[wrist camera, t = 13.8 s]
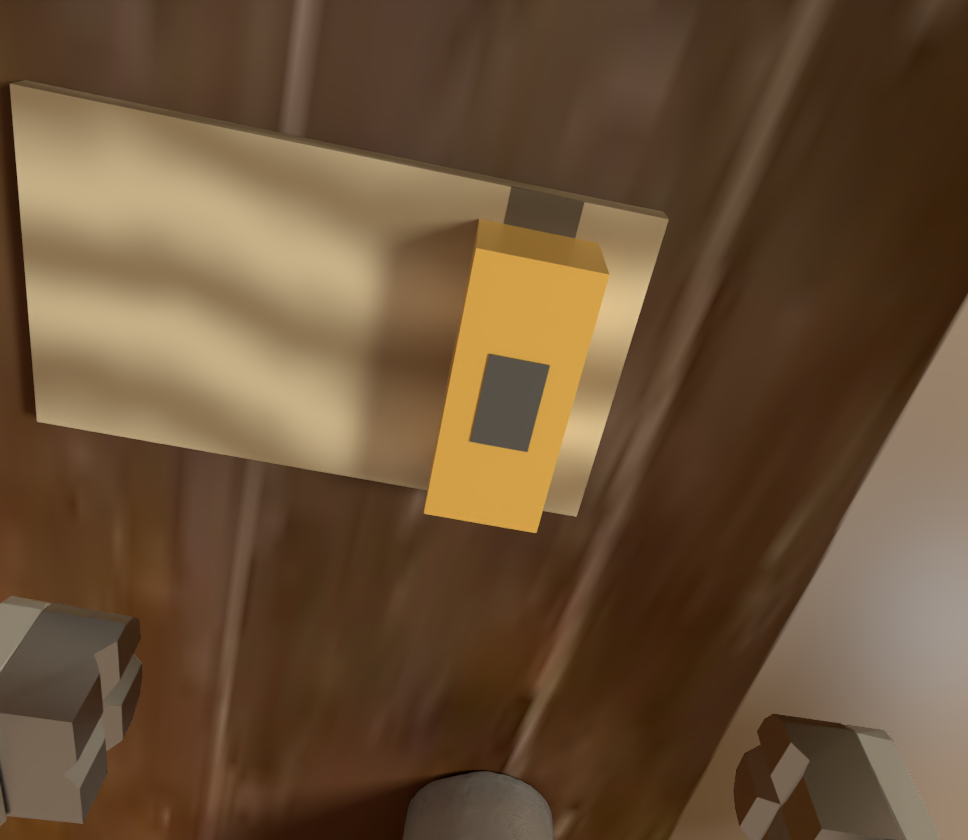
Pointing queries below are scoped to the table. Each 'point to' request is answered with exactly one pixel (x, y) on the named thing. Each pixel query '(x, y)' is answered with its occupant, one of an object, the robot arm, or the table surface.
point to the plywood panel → (278, 287)
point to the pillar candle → (478, 810)
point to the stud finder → (514, 374)
